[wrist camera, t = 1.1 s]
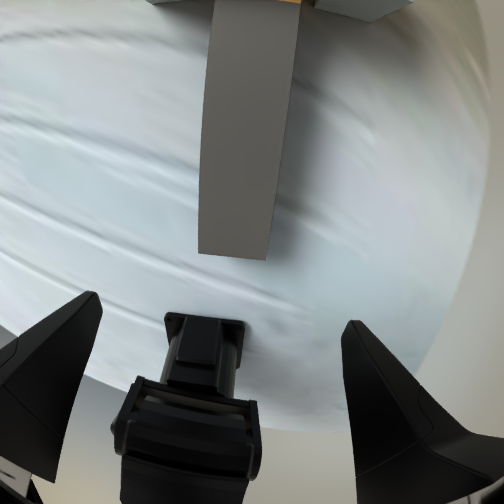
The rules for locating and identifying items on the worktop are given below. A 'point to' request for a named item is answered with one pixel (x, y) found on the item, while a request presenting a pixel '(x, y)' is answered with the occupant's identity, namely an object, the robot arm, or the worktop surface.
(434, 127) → the worktop surface
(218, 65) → the plug
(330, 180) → the worktop surface
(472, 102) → the worktop surface
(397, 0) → the housing
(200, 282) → the worktop surface
